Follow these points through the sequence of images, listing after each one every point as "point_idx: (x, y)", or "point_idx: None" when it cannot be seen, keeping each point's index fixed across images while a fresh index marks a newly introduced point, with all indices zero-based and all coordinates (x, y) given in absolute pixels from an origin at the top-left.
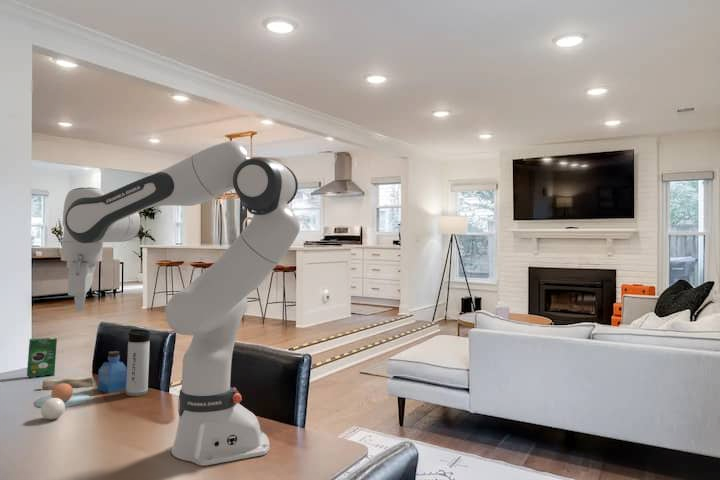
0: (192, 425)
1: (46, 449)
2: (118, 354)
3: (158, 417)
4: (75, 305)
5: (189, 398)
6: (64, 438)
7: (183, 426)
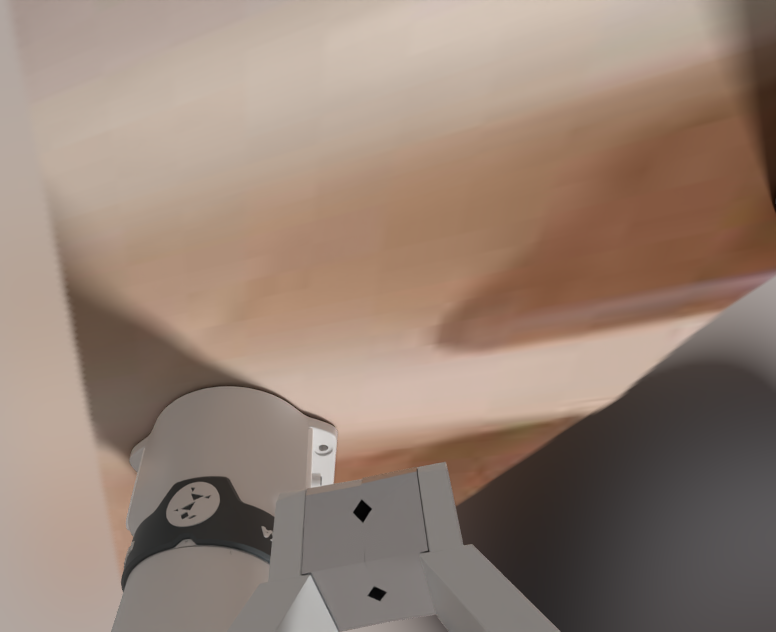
0: (141, 501)
1: (227, 17)
2: None
3: (498, 310)
4: (272, 557)
5: (128, 562)
6: (336, 50)
7: (163, 473)
